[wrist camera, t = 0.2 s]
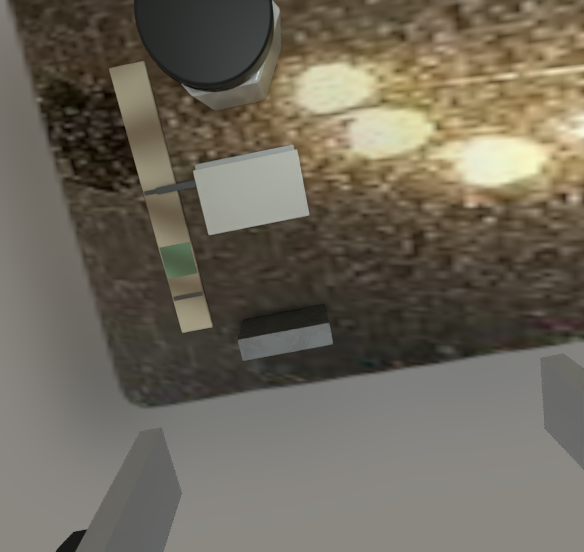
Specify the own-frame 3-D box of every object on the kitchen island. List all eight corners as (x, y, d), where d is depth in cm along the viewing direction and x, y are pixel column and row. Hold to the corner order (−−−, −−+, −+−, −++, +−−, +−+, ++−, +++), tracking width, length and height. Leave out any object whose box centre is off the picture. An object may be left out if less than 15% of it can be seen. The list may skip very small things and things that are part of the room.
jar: (156, 48, 37) (97, -2, 26) (227, -25, 36) (198, -113, 24) (230, 133, 39) (206, 122, 27) (300, 66, 38) (306, 24, 26)
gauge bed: (110, 69, 38) (108, 68, 37) (145, 62, 38) (143, 60, 37) (183, 331, 44) (182, 333, 43) (213, 325, 44) (212, 327, 43)
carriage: (154, 174, 40) (132, 177, 34) (294, 146, 39) (296, 143, 33) (170, 234, 41) (151, 246, 35) (306, 207, 40) (309, 215, 35)
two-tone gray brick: (243, 319, 43) (237, 339, 39) (324, 304, 43) (329, 322, 38) (247, 338, 44) (242, 360, 39) (328, 323, 44) (333, 344, 39)
